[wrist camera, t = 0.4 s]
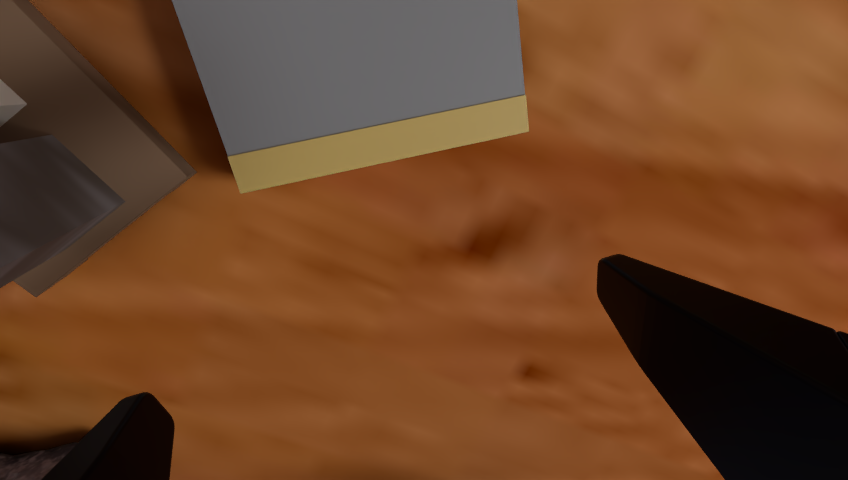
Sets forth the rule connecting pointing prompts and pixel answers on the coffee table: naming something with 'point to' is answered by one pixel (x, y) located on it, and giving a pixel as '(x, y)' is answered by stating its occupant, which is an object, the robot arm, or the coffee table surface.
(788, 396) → the robot arm
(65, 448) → the geode
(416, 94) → the dock
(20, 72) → the grey column with base
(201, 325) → the coffee table surface
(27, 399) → the coffee table surface
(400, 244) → the coffee table surface
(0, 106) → the box
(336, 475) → the coffee table surface
